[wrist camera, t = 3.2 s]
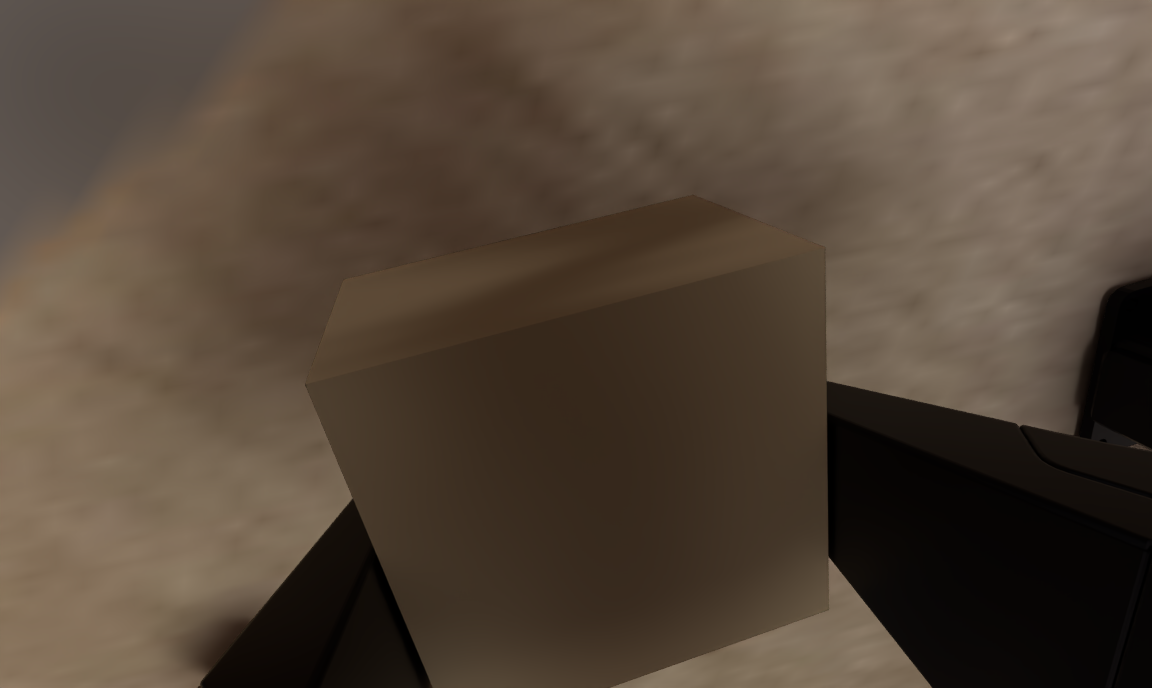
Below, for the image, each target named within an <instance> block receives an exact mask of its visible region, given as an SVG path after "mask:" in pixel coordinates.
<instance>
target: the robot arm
mask: <svg viewBox="0 0 1152 688" xmlns="http://www.w3.org/2000/svg"><path fill="white" fill-rule="evenodd" d="M1137 443H1138V444H1140V445H1142V446H1144V447H1146V448H1148V449H1150V450H1152V279H1149V280H1145V281H1142V282H1138V283H1135V284H1131V285H1128V286H1124V287H1121V288H1119V289H1117V290H1116V291H1115V292H1114V293H1113V294H1112V295H1111V296H1110V298H1109V300H1108V302H1107V305H1106V310H1105V315H1104V320H1103V325H1102V330H1101V334H1100V339H1099V344H1098V349H1097V354H1096V359H1095V364H1094V369H1093V374H1092V378H1091V383H1090V388H1089V393H1088V398H1087V403H1086V408H1085V413H1084V418H1083V423H1082V427H1081V432H1080V437H1077V436H1072V435H1067V434H1062V433H1058V432H1053V431H1049V430H1044V429H1040V428H1035V427H1031V426H1026V425H1022V426H1020V427H1019V426H1018V425H1017V424H1016V423H1012V422H1008V421H1003V420H999V419H994V418H990V417H985V416H981V415H976V414H972V413H967V412H963V411H959V410H954V409H950V408H945V407H941V406H936V405H932V404H927V403H923V402H918V401H914V400H909V399H905V398H900V397H896V396H891V395H887V394H882V393H878V392H873V391H869V390H865V389H860V388H856V387H851V386H847V385H842V384H838V383H833V382H829V381H827V476H828V556H829V558H830V559H831V560H832V561H833V563H834V564H835V565H836V566H837V568H838V569H839V570H840V572H841V573H842V574H843V575H844V577H845V578H846V579H847V580H848V582H849V583H850V584H851V585H852V587H853V588H854V589H855V591H856V592H857V593H858V594H859V596H860V597H861V598H862V599H863V601H864V602H865V603H866V604H867V606H868V607H869V608H870V610H871V611H872V612H873V613H874V615H875V616H876V617H877V618H878V620H879V621H880V622H881V623H882V625H883V626H884V627H885V628H886V630H887V631H888V632H889V634H890V635H891V636H892V637H893V639H894V640H895V641H896V642H897V644H898V645H899V646H900V647H901V649H902V650H903V651H904V653H905V654H906V655H907V656H908V658H909V659H910V660H911V661H912V663H913V664H914V665H915V666H916V668H917V669H918V670H919V671H920V673H921V674H922V675H923V677H924V678H925V679H926V680H927V682H928V683H929V684H930V685H931V687H932V688H1152V451H1148V450H1143V449H1137V448H1132V447H1128V446H1131V445H1134V444H1137ZM200 686H201V688H430V680H429V678H428V675H427V673H426V670H425V668H424V666H423V663H422V661H421V659H420V656H419V654H418V651H417V649H416V647H415V644H414V642H413V640H412V637H411V635H410V632H409V630H408V628H407V625H406V623H405V621H404V618H403V616H402V613H401V611H400V609H399V606H398V604H397V602H396V599H395V597H394V594H393V592H392V590H391V587H390V585H389V583H388V580H387V578H386V575H385V573H384V571H383V568H382V566H381V564H380V561H379V559H378V556H377V554H376V552H375V549H374V547H373V545H372V542H371V540H370V538H369V535H368V533H367V530H366V528H365V526H364V523H363V521H362V519H361V516H360V514H359V511H358V509H357V507H356V504H355V502H354V500H353V499H352V500H351V501H350V502H349V504H348V505H347V506H346V507H345V508H344V510H343V511H342V512H341V513H340V515H339V516H338V517H337V518H336V519H335V521H334V522H333V523H332V524H331V525H330V527H329V528H328V529H327V530H326V531H325V533H324V534H323V535H322V536H321V537H320V539H319V540H318V541H317V542H316V543H315V545H314V546H313V547H312V548H311V549H310V551H309V552H308V553H307V554H306V555H305V557H304V558H303V559H302V560H301V562H300V563H299V564H298V565H297V566H296V568H295V569H294V570H293V571H292V572H291V574H290V575H289V576H288V577H287V578H286V580H285V581H284V582H283V583H282V584H281V586H280V587H279V588H278V589H277V590H276V592H275V593H274V594H273V595H272V596H271V598H270V599H269V600H268V601H267V603H266V604H265V605H264V606H263V607H262V609H261V610H260V611H259V612H258V613H257V615H256V616H255V617H254V618H253V619H252V621H251V622H250V623H249V624H248V625H247V627H246V628H245V629H244V630H243V631H242V633H241V634H240V635H239V636H238V637H237V639H236V640H235V641H234V642H233V643H232V645H231V646H230V647H229V648H228V650H227V651H226V652H225V653H224V654H223V656H222V657H221V658H220V659H219V660H218V662H217V663H216V664H215V665H214V666H213V668H212V669H211V670H210V671H209V672H208V674H207V675H206V676H205V677H204V678H203V680H202V681H201V683H200Z"/></svg>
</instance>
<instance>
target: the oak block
mask: <svg viewBox="0 0 1152 688" xmlns="http://www.w3.org/2000/svg"><path fill="white" fill-rule="evenodd" d="M305 386H306V388H307V390H308V393H309V395H310V397H311V400H312V402H313V405H314V407H315V409H316V412H317V414H318V416H319V419H320V421H321V424H322V426H323V428H324V431H325V433H326V435H327V438H328V440H329V443H330V445H331V447H332V450H333V452H334V454H335V457H336V459H337V462H338V464H339V466H340V469H341V471H342V473H343V476H344V478H345V481H346V483H347V485H348V488H349V490H350V492H351V495H352V497H353V500H354V502H355V504H356V507H357V509H358V511H359V514H360V516H361V519H362V521H363V523H364V526H365V528H366V530H367V533H368V535H369V538H370V540H371V542H372V545H373V547H374V549H375V552H376V554H377V556H378V559H379V561H380V564H381V566H382V568H383V571H384V573H385V575H386V578H387V580H388V583H389V585H390V587H391V590H392V592H393V594H394V597H395V599H396V602H397V604H398V606H399V609H400V611H401V613H402V616H403V618H404V621H405V623H406V625H407V628H408V630H409V632H410V635H411V637H412V640H413V642H414V644H415V647H416V649H417V651H418V654H419V656H420V659H421V661H422V663H423V666H424V668H425V670H426V673H427V675H428V678H429V680H430V682H431V685H432V687H433V688H610V687H613V686H616V685H619V684H621V683H624V682H627V681H630V680H633V679H636V678H638V677H641V676H644V675H647V674H650V673H653V672H655V671H658V670H661V669H664V668H667V667H669V666H672V665H675V664H678V663H681V662H684V661H686V660H689V659H692V658H695V657H698V656H700V655H703V654H706V653H709V652H712V651H715V650H717V649H720V648H723V647H726V646H729V645H731V644H734V643H737V642H740V641H743V640H746V639H748V638H751V637H754V636H757V635H760V634H763V633H765V632H768V631H771V630H774V629H777V628H779V627H782V626H785V625H788V624H791V623H794V622H796V621H799V620H802V619H805V618H808V617H810V616H813V615H816V614H819V613H822V612H825V611H827V610H829V572H828V476H827V381H826V285H825V247H823V246H820V245H818V244H815V243H813V242H810V241H808V240H805V239H803V238H800V237H798V236H795V235H793V234H790V233H788V232H785V231H783V230H780V229H778V228H775V227H773V226H770V225H768V224H765V223H763V222H760V221H758V220H755V219H753V218H750V217H748V216H745V215H743V214H740V213H738V212H735V211H732V210H730V209H727V208H725V207H722V206H720V205H717V204H715V203H712V202H710V201H707V200H705V199H702V198H700V197H697V196H695V195H691V196H686V197H682V198H678V199H674V200H670V201H666V202H662V203H657V204H653V205H649V206H645V207H641V208H637V209H633V210H629V211H624V212H620V213H616V214H612V215H608V216H604V217H600V218H595V219H591V220H587V221H583V222H579V223H575V224H571V225H567V226H562V227H558V228H554V229H550V230H546V231H542V232H538V233H534V234H529V235H525V236H521V237H517V238H513V239H509V240H505V241H500V242H496V243H492V244H488V245H484V246H480V247H476V248H472V249H467V250H463V251H459V252H455V253H451V254H447V255H443V256H438V257H434V258H430V259H426V260H422V261H418V262H414V263H410V264H405V265H401V266H397V267H393V268H389V269H385V270H381V271H376V272H372V273H368V274H364V275H360V276H356V277H352V278H348V279H343V282H342V285H341V287H340V290H339V293H338V296H337V298H336V301H335V304H334V307H333V309H332V312H331V315H330V317H329V320H328V323H327V326H326V328H325V331H324V334H323V337H322V339H321V342H320V345H319V347H318V350H317V353H316V356H315V358H314V361H313V364H312V367H311V369H310V372H309V375H308V377H307V380H306V383H305Z"/></svg>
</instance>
